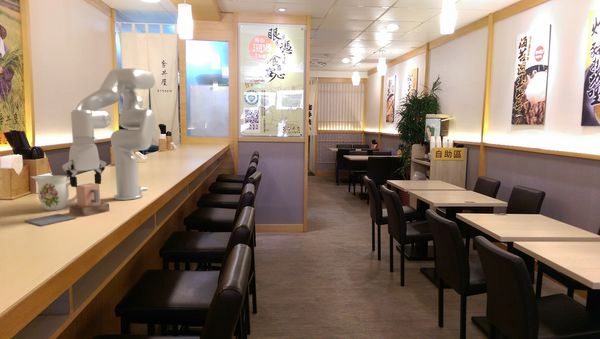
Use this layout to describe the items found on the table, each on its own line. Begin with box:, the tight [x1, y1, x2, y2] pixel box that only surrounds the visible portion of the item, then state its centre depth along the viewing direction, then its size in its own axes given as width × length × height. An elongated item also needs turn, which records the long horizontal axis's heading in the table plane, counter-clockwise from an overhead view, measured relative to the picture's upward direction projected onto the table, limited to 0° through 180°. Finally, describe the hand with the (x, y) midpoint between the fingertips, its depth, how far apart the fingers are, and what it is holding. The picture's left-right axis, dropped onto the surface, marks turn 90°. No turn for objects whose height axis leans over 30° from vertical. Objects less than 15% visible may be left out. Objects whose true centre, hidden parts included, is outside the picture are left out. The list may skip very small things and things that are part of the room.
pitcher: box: [30, 174, 79, 211], centre depth 171 cm, size 11×18×14 cm, turn 102°
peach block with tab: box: [75, 182, 102, 208], centre depth 163 cm, size 6×9×11 cm, turn 58°
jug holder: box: [68, 201, 110, 217], centre depth 165 cm, size 10×10×3 cm
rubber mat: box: [24, 213, 77, 227], centre depth 152 cm, size 12×12×1 cm
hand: (86, 185), depth 163 cm, fingers open, 9 cm apart
